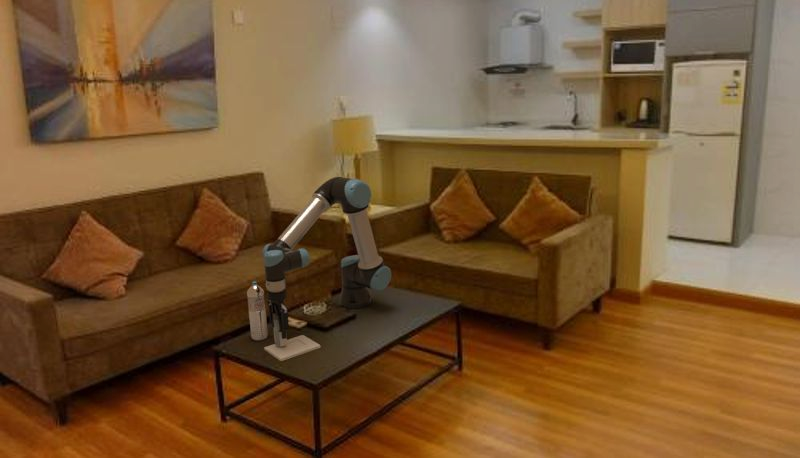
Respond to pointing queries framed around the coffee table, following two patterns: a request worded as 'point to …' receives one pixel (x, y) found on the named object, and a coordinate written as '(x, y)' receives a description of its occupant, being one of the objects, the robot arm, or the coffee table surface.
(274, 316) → the cylinder
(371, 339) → the coffee table surface
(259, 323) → the water bottle
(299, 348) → the notepad
